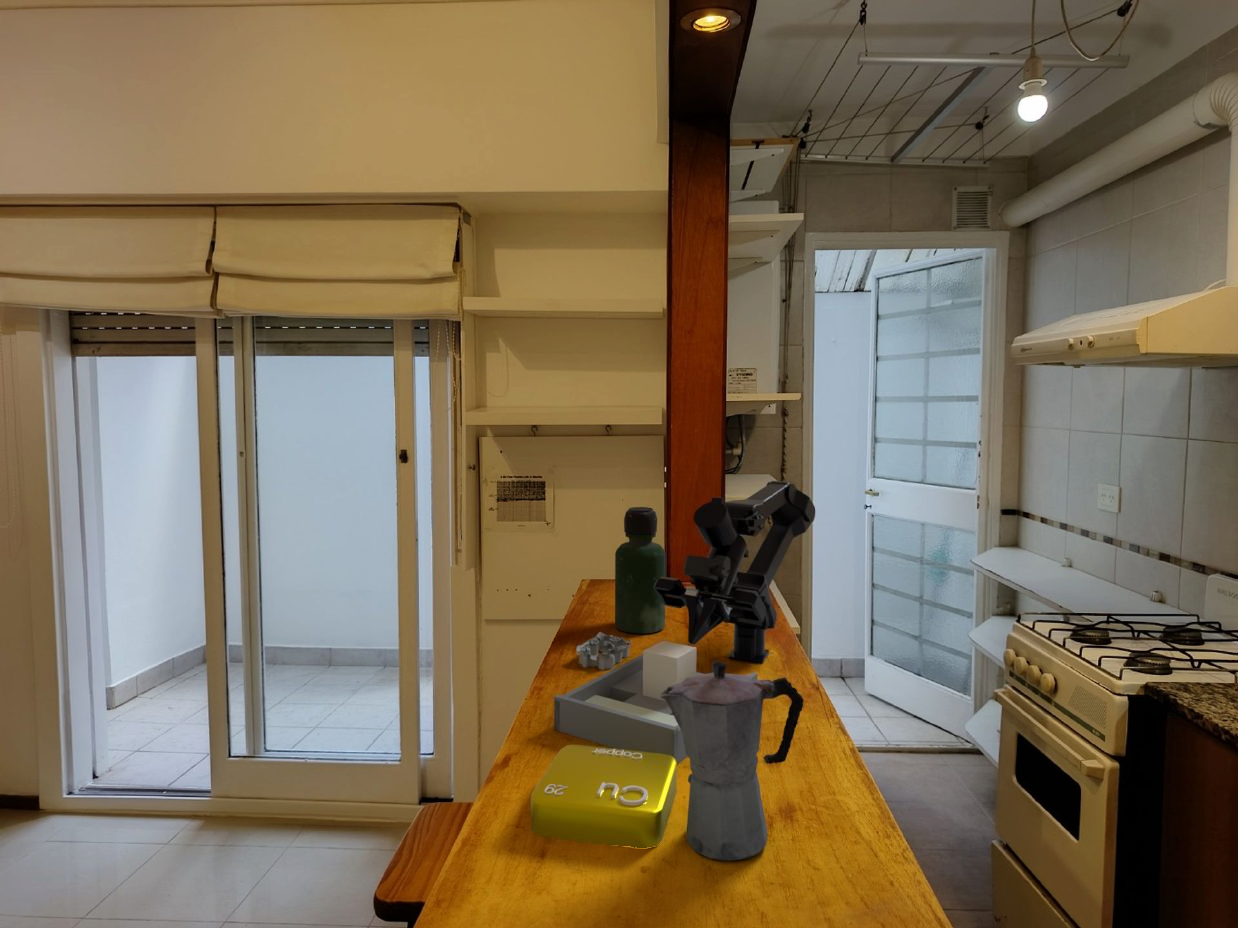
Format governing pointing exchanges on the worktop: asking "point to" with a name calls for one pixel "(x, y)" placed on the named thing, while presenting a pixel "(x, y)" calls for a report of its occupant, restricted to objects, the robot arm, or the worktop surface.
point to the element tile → (605, 796)
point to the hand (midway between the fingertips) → (691, 643)
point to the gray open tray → (621, 713)
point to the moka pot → (727, 757)
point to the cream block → (666, 667)
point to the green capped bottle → (639, 575)
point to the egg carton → (603, 651)
